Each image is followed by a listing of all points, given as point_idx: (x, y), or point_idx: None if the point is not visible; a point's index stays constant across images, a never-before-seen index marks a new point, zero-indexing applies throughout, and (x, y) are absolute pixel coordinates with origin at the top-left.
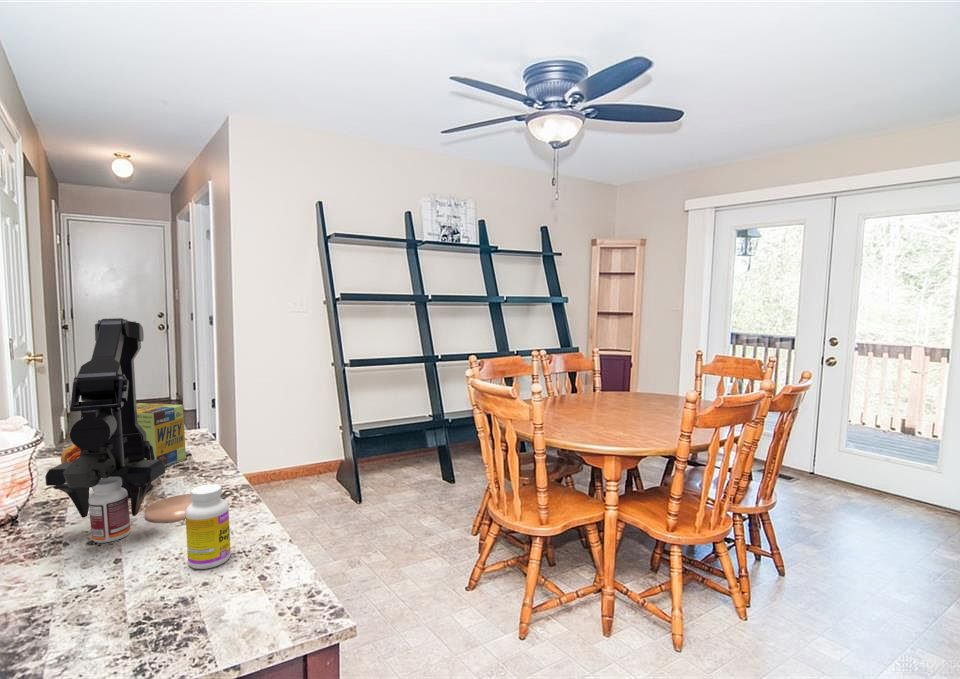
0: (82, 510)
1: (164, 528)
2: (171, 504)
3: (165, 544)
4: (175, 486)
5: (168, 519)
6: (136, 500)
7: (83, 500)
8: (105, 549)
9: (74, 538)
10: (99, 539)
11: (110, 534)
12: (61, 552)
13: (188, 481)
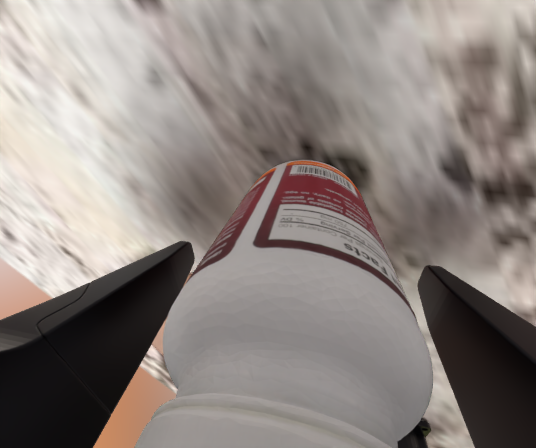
0: (452, 292)
1: None
2: None
3: (86, 132)
4: None
5: (186, 280)
6: (87, 283)
7: (484, 369)
8: (261, 104)
9: (439, 217)
10: (312, 162)
11: (269, 174)
12: (450, 82)
13: None
